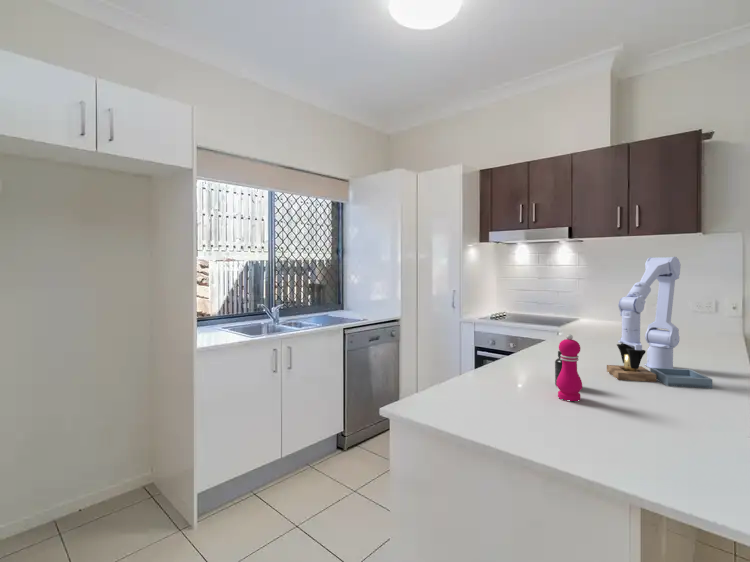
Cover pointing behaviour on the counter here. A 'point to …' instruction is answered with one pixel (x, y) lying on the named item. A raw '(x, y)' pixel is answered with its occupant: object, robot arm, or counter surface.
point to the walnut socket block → (631, 374)
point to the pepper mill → (569, 370)
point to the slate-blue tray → (681, 378)
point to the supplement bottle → (558, 366)
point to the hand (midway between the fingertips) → (630, 365)
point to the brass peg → (628, 364)
